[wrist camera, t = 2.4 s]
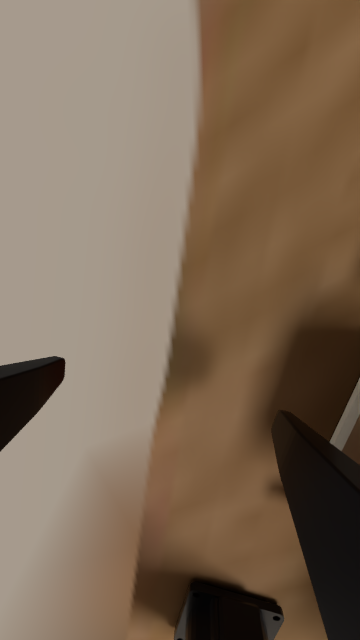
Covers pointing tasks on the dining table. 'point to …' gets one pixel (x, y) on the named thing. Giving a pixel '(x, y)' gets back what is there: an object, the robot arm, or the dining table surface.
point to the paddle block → (353, 443)
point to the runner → (347, 419)
